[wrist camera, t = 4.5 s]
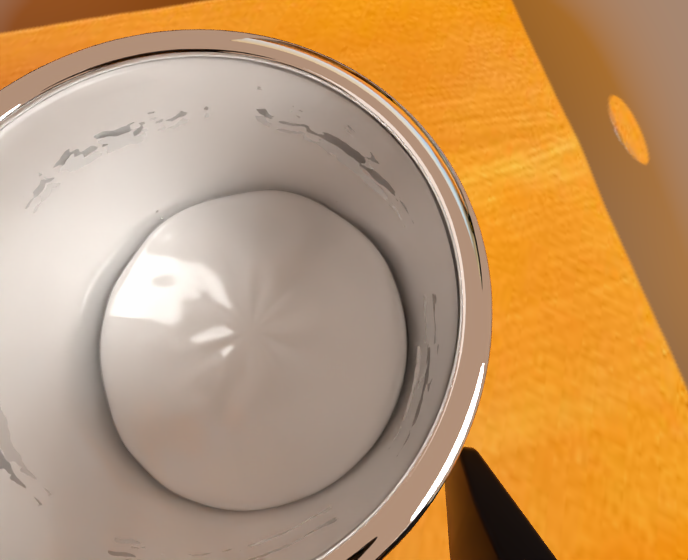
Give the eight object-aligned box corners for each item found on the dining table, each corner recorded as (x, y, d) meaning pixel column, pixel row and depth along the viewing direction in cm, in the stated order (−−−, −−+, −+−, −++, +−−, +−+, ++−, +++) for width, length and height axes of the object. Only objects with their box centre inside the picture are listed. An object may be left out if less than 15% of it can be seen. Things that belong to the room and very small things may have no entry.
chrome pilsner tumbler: (362, 285, 20) (456, 1, 5) (378, 433, 18) (591, 640, 3) (220, 296, 19) (-113, 22, 5) (222, 449, 17) (-301, 763, 3)
